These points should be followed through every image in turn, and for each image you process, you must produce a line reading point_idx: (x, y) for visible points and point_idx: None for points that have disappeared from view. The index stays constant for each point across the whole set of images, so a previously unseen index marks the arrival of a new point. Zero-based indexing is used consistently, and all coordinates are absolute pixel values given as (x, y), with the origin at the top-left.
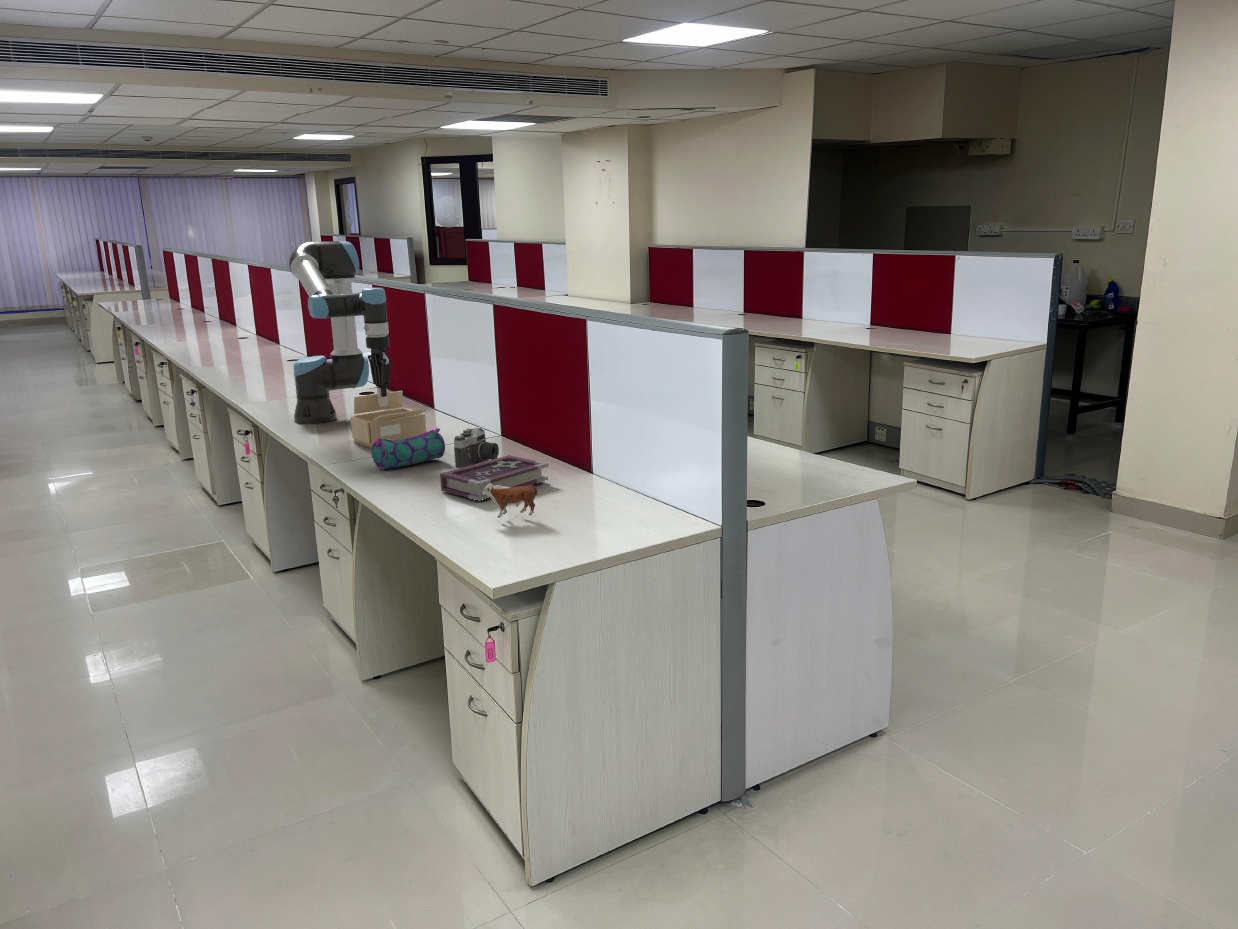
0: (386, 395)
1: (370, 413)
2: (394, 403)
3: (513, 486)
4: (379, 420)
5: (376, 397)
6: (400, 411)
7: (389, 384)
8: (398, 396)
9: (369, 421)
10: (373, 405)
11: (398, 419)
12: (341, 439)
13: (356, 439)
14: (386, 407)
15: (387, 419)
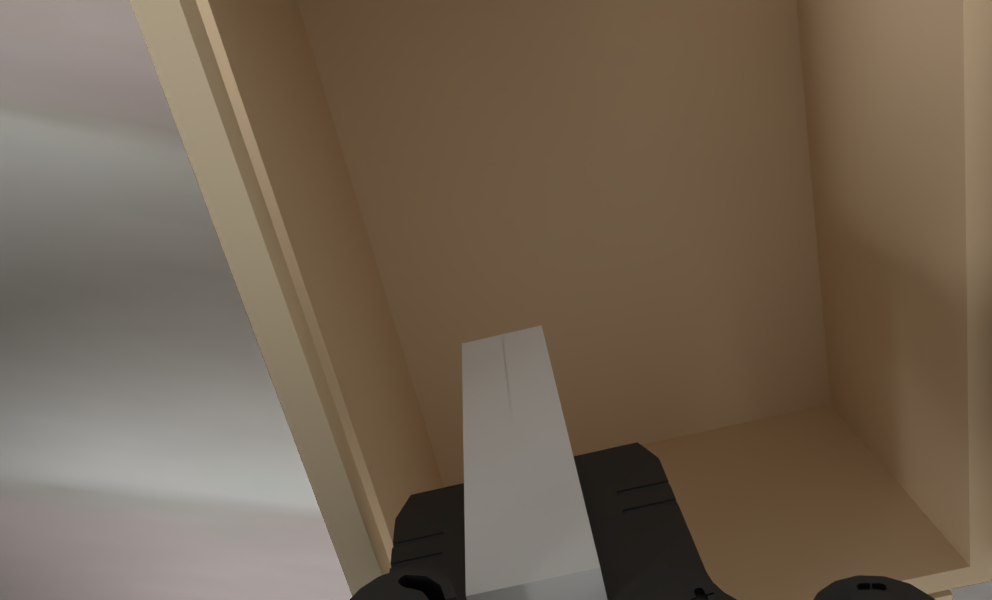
0: (655, 460)
1: (375, 492)
2: (241, 139)
3: None
4: (352, 328)
5: (381, 564)
6: (221, 4)
7: (928, 596)
8: (208, 60)
9: (916, 582)
10: (372, 520)
11: (982, 220)
12: (259, 566)
13: None
14: (290, 279)
15: (318, 218)
